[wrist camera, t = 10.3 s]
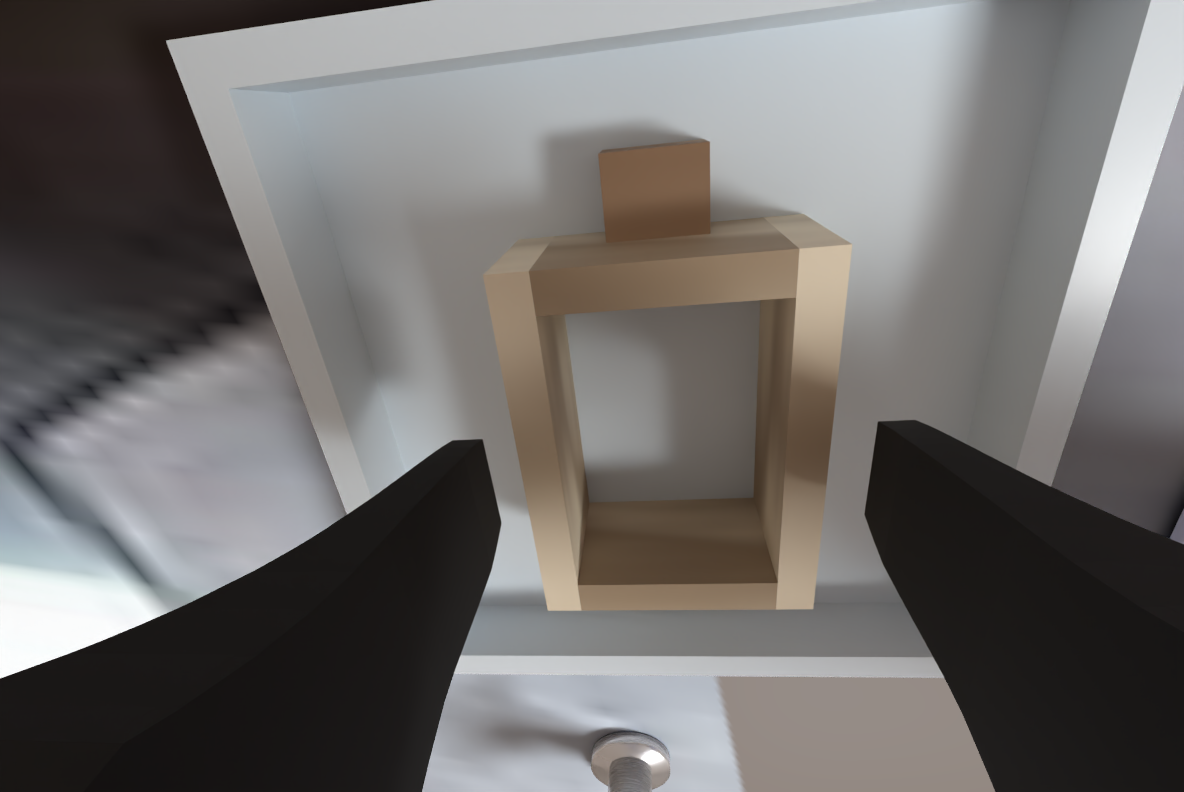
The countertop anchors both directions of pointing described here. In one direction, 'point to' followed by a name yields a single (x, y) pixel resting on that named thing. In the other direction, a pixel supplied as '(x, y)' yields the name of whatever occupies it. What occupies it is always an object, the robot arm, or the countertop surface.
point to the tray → (737, 191)
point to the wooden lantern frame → (784, 390)
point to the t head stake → (630, 762)
